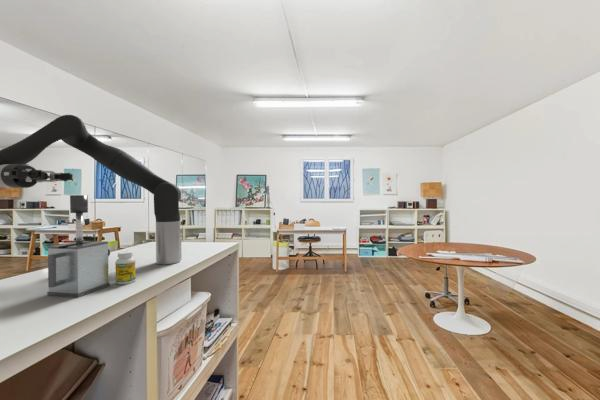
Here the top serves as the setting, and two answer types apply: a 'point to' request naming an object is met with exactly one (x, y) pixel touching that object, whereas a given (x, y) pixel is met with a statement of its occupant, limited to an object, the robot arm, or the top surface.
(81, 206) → the dark grey knob handle
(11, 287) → the top surface
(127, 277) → the supplement bottle
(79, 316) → the top surface
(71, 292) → the grey box
